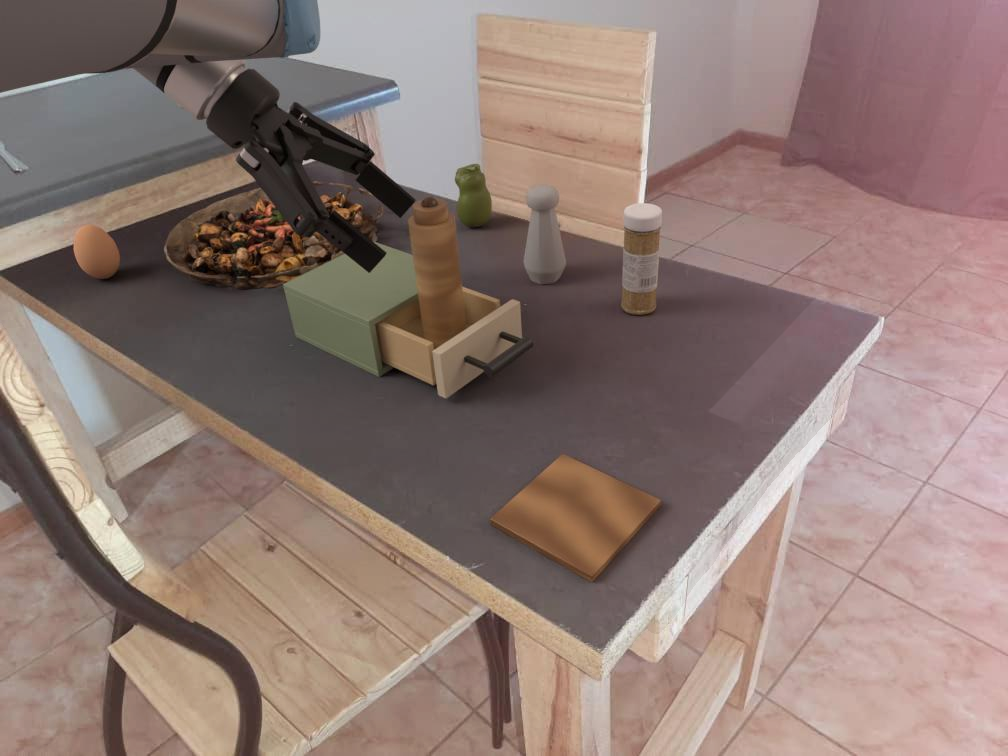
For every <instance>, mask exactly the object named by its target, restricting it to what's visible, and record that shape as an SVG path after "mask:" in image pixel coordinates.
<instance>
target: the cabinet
mask: <svg viewBox="0 0 1008 756" xmlns="http://www.w3.org/2000/svg"><path fill="white" fill-rule="evenodd" d="M373 242H374V241H373ZM374 243H375V244H377V245H378V246H379V247H380V248H382V249H383V250H384V251H385V252H386V255H385V257H384V258H383V259H382V260H381V261H380V262H379V263H378V264H377V265H376V267H375V268H374V269H373V270H372V271H371V272H370V273H368V272H367V271H366V270H365V269H363V268H362V267H361V266H360V265H358V264H357V263H356V262H355V261H353V260H352V259H351V258H350V257H348V256H347V255H346V254H344V255H342V256H339V257H337V258H335V259H333V260H331V261H329V262H327V263H325V264H323V265H321V266H319V267H317V268H315V269H313V270H311V271H309V272H307V273H305V274H303V275H301V276H299V277H297V278H295V279H293V280H291V281H289V282H287V283H285V284H283V285H282V287H283V290H284V295H285V299H286V302H287V303H286V304H287V306H288V311H289V314H290V319H291V323H292V326H293V331H294V335H295V337H296V338H297V339H299V340H301V341H304V342H305V343H306V344H307V343H308V344H310V345H311V346H313V347H316V348H318V349H320V350H322V351H324V352H326V353H327V354H330V355H332V356H334V357H336V358H338V359H341V360H342V361H345V362H346V363H349V364H351V365H353V366H355V367H357V368H358V369H361V370H364V371H365V372H367V373H369V374H371V375H373V376H376V377H378V378H380V377H382V376H383V375H385V374H387V373H388V372H390V371H392V370H393V369H395V368H394V367H392V366H390V365H388V364H386V363H384V362H382V361H381V355H380V350H379V344H378V338H377V333H376V327H375V324H376V323H378V322H380V321H382V320H383V319H385V318H387V317H388V316H390V315H392V314H394V313H395V312H397V311H399V310H400V309H402V308H404V307H406V306H407V305H409V304H411V303H412V302H414V301H416V300H418V299H419V298H418V291H417V283H416V276H415V269H414V262H413V255H412V254H411V253H408V252H405V251H402V250H400V249H397V248H394V247H391V246H388V245H385V244H382V243H379V242H377V241H376V242H374Z"/></svg>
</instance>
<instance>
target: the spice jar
mask: <svg viewBox="0 0 1008 756" xmlns="http://www.w3.org/2000/svg"><path fill="white" fill-rule="evenodd" d="M622 216H623V217H622V224H623V229H624V233H623V234H624V235H623V248H622V279H621V285H622V292H621V293H622V295H621V296H622V297H621V304H620V307H621V309H622V310H623V311H624V312H625V313H627V314H630V315H635V316H644V315H645V316H646V315H648V314H651V313H653V312H654V311H655V310H656V308H657V289H658V280H659V279H658V277H659V266H660V265H659V263H660V237H661V233H660V232H661V228H662V224H663V210H662V208H661V207H660V206H658V205H656V204H653V203H649V202H648V203H647V202H642V203H639V202H638V203H633V204H630V205H628V206H626V207H625V208H624V210H623V215H622Z"/></svg>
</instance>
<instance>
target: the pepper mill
mask: <svg viewBox="0 0 1008 756" xmlns="http://www.w3.org/2000/svg"><path fill="white" fill-rule="evenodd" d="M412 212H413V214H412V215H410V216H409V217H408V219H407V225H408V226H407V227H408V232H409V238H410V239H409V240H410V246H411V253H412V254H411V255H413V262H414V269H415V276H416V283H417V291H418V298H419V305H420V312H421V320H422V327H423V334H424V339H426V340H428V341H430V342H433V346H434V350H435V349H436V348H438V347H439V346H441V345H442V344H444V343H445V342H447V341H449V340H450V339H452V338H453V337H455V336H456V335H458V334H459V333H461V332H462V331H464V330H465V329H466V320H465V310H464V300H463V290H462V287H463V284H462V283H463V282H462V280H463V279H462V272H461V263H460V262H461V261H460V252H459V241H458V232H457V223H456V221H457V220H456V216H455V214H454V213H453V212H452V211H449V209H448V202H447V201H446V200H445V199H443V198H440V197H439V198H438V197H435V196H430V195H429V196H426V197H423V198H422V199H419V200H416V201H415V202H414V204H413V205H412Z"/></svg>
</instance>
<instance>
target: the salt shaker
mask: <svg viewBox="0 0 1008 756" xmlns="http://www.w3.org/2000/svg"><path fill="white" fill-rule="evenodd" d="M525 202H526V206H527V207H528V208H529V209H531V210H530V216H529V222H528V229H527V236H526V242H525V250H524V254H523V255H524V256H523V266H524V270H525V272H526V274H527V276H528V278H529V280H530V281H531V282H534V283H536V284H538V285H550V284H554V283H556V282H557V281H558V280H559V279H560V278H561V276H562V274H563V272H564V270H565V267H566V265H567V259H566V254H565V249H564V245H563V241H562V240H563V239H562V234H561V231H560V225H559V221H558V216H557V213H556V207H557V206H558V205H559V202H560V194H559V191H558V189H557V188H556V187H554V186H553V185H549V184H538V185H537V184H536V185H533V186H531V187H530V188H529V189H527V191H526V193H525Z"/></svg>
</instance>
